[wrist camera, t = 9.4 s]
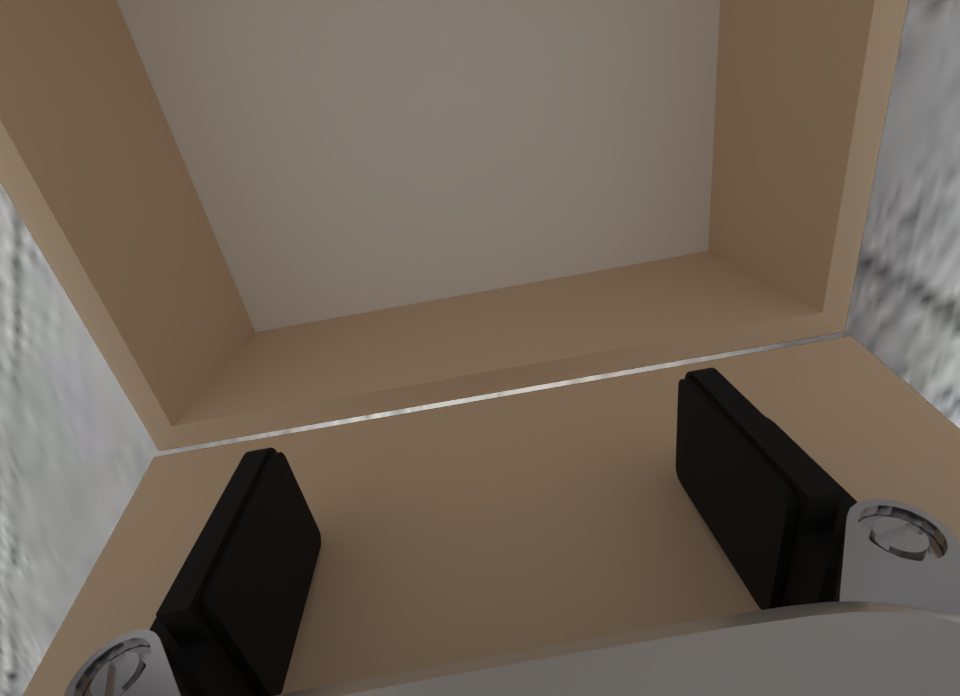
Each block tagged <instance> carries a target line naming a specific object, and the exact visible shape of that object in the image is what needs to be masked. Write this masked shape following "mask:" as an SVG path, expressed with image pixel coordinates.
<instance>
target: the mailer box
mask: <svg viewBox="0 0 960 696" xmlns="http://www.w3.org/2000/svg"><path fill="white" fill-rule="evenodd" d="M908 1H909V0H0V182H1V184H2V186H3V188H4V189H5V191H6V193H7V194H8V196H9V198H10V199H11V201H12V203H13V204H14V206H15V208H16V210H17V211H18V213H19V215H20V216H21V218H22V220H23V221H24V223H25V225H26V226H27V228H28V230H29V232H30V233H31V235H32V237H33V238H34V240H35V242H36V243H37V245H38V247H39V248H40V250H41V252H42V254H43V255H44V257H45V259H46V260H47V262H48V264H49V265H50V267H51V269H52V270H53V272H54V274H55V276H56V277H57V279H58V281H59V282H60V284H61V286H62V287H63V289H64V291H65V292H66V294H67V296H68V298H69V299H70V301H71V303H72V304H73V306H74V308H75V309H76V311H77V313H78V314H79V316H80V318H81V320H82V321H83V323H84V325H85V326H86V328H87V330H88V331H89V333H90V335H91V336H92V338H93V340H94V342H95V343H96V345H97V347H98V348H99V350H100V352H101V353H102V355H103V357H104V358H105V360H106V362H107V363H108V365H109V367H110V369H111V370H112V372H113V374H114V375H115V377H116V379H117V380H118V382H119V384H120V385H121V387H122V389H123V391H124V392H125V394H126V396H127V397H128V399H129V401H130V402H131V404H132V406H133V407H134V409H135V411H136V413H137V414H138V416H139V418H140V419H141V421H142V423H143V424H144V426H145V428H146V429H147V431H148V433H149V435H150V436H151V438H152V440H153V441H154V443H155V445H156V446H157V448H158V450H159V451H163V450H169V449H174V448H180V447H186V446H192V445H197V444H203V443H209V442H215V441H220V440H226V439H232V438H237V437H243V436H249V435H255V434H260V433H266V432H272V431H278V430H283V429H289V428H295V427H301V426H306V425H312V424H318V423H324V422H329V421H335V420H341V419H347V418H352V417H358V416H364V415H370V414H375V413H381V412H387V411H393V410H398V409H404V408H410V407H416V406H421V405H427V404H433V403H439V402H444V401H450V400H456V399H462V398H467V397H473V396H479V395H484V394H490V393H496V392H502V391H507V390H513V389H519V388H525V387H530V386H536V385H542V384H548V383H553V382H559V381H565V380H571V379H576V378H582V377H588V376H594V375H599V374H605V373H611V372H617V371H622V370H628V369H634V368H640V367H645V366H651V365H657V364H663V363H668V362H674V361H680V360H686V359H691V358H697V357H703V356H709V355H714V354H720V353H726V352H731V351H737V350H743V349H749V348H754V347H760V346H766V345H772V344H777V343H783V342H789V341H795V340H800V339H806V338H812V337H818V336H823V335H829V334H835V333H841V332H844V331H845V326H846V321H847V316H848V311H849V306H850V300H851V295H852V290H853V285H854V280H855V275H856V269H857V264H858V259H859V254H860V249H861V244H862V238H863V233H864V228H865V223H866V218H867V212H868V207H869V202H870V197H871V192H872V187H873V181H874V176H875V171H876V166H877V161H878V156H879V150H880V145H881V140H882V135H883V130H884V125H885V119H886V114H887V109H888V104H889V99H890V94H891V88H892V83H893V78H894V73H895V68H896V63H897V57H898V52H899V47H900V42H901V37H902V32H903V26H904V21H905V16H906V11H907V6H908Z"/></svg>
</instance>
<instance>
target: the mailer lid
mask: <svg viewBox="0 0 960 696" xmlns="http://www.w3.org/2000/svg"><path fill="white" fill-rule="evenodd" d="M706 368H715V369H716V370H718V371H719V372H720V373H721V374H722V375H723V376H724V377H725V378H726V379H727V380H728V381H729V382H730V383H731V384H732V385H733V386H734V387H735V388H736V389H737V390H738V391H739V392H740V393H741V394H742V395H743V396H745V397H746V398H747V399H748V400H749V401H750V402H751V403H752V404H753V405H754V406H755V407H756V408H757V409H758V410H759V411H760V412H761V413H762V414H763V415H764V416H765V417H767V418H769V419H771V420H772V421H773V422H775V423H776V424H777V425H778V426H779V427H780V428H781V429H782V430H783V431H784V432H785V433H786V434H787V435H788V436H789V437H790V438H791V439H792V440H793V441H794V442H796V443H797V444H798V445H799V446H800V447H801V448H802V449H803V450H804V451H805V452H806V453H807V454H808V455H809V456H810V457H811V458H812V459H813V460H814V461H815V462H816V463H817V464H819V465H820V466H821V467H822V468H823V469H824V470H825V471H826V472H827V473H828V474H829V475H830V476H831V477H832V478H833V479H834V480H835V481H836V482H837V483H838V484H839V485H840V486H842V487H843V488H844V489H845V490H846V491H847V492H848V493H849V494H850V495H851V496H852V497H853V498H854V499H855V500H856V501H857V502H860V501H864V500H868V499H887V500H893V501H898V502H902V503H905V504H908V505H911V506H914V507H917V508H919V509H921V510H923V511H925V512H927V513H929V514H931V515H932V516H934V517H935V518H937V519H938V520H939V521H941V522H942V523H943V524H945V525H946V526H947V527H948V528H949V529H950V530H951V531H952V533H953V534H954V535H955V536H956V537H957V539H958V542H959V544H960V429H959V428H958V427H957V426H956V425H955V424H953V423H952V422H951V421H950V420H949V419H948V418H946V417H945V416H944V415H943V414H942V413H941V412H939V411H938V410H937V409H936V408H935V407H934V406H933V405H931V404H930V403H929V402H928V401H927V400H926V399H924V398H923V397H922V396H921V395H920V394H919V393H917V392H916V391H915V390H914V389H913V388H912V387H910V386H909V385H908V384H907V383H906V382H905V381H903V380H902V379H901V378H900V377H899V376H898V375H897V374H895V373H894V372H893V371H892V370H891V369H890V368H888V367H887V366H886V365H885V364H884V363H883V362H881V361H880V360H879V359H878V358H877V357H876V356H874V355H873V354H872V353H871V352H870V351H869V350H867V349H866V348H865V347H864V346H863V345H862V344H860V343H859V342H858V341H857V340H856V339H855V338H854V337H852V336H848V337H842V338H837V339H831V340H825V341H819V342H814V343H808V344H802V345H796V346H791V347H785V348H779V349H773V350H768V351H762V352H756V353H750V354H745V355H739V356H733V357H727V358H722V359H716V360H710V361H704V362H699V363H693V364H687V365H681V366H676V367H670V368H664V369H658V370H653V371H647V372H641V373H635V374H630V375H624V376H618V377H612V378H607V379H601V380H595V381H589V382H584V383H578V384H572V385H566V386H560V387H555V388H549V389H543V390H537V391H532V392H526V393H520V394H514V395H509V396H503V397H497V398H491V399H486V400H480V401H474V402H468V403H463V404H457V405H451V406H445V407H440V408H434V409H428V410H422V411H417V412H411V413H405V414H399V415H394V416H388V417H382V418H376V419H371V420H365V421H359V422H353V423H348V424H342V425H336V426H330V427H325V428H319V429H313V430H307V431H302V432H296V433H290V434H284V435H279V436H273V437H267V438H261V439H256V440H250V441H244V442H238V443H233V444H227V445H221V446H215V447H210V448H204V449H198V450H192V451H187V452H181V453H175V454H169V455H164V456H158V457H154V458H153V460H152V462H151V464H150V466H149V467H148V469H147V471H146V473H145V475H144V476H143V478H142V480H141V482H140V484H139V486H138V487H137V489H136V491H135V493H134V495H133V496H132V498H131V500H130V502H129V504H128V505H127V507H126V509H125V511H124V513H123V515H122V516H121V518H120V520H119V522H118V524H117V525H116V527H115V529H114V531H113V533H112V534H111V536H110V538H109V540H108V542H107V544H106V545H105V547H104V549H103V551H102V553H101V554H100V556H99V558H98V560H97V562H96V563H95V565H94V567H93V569H92V571H91V573H90V574H89V576H88V578H87V580H86V582H85V583H84V585H83V587H82V589H81V591H80V593H79V594H78V596H77V598H76V600H75V602H74V603H73V605H72V607H71V609H70V611H69V612H68V614H67V616H66V618H65V620H64V622H63V623H62V625H61V627H60V629H59V631H58V632H57V634H56V636H55V638H54V640H53V641H52V643H51V645H50V647H49V649H48V651H47V652H46V654H45V656H44V658H43V660H42V661H41V663H40V665H39V667H38V669H37V670H36V672H35V674H34V676H33V678H32V680H31V681H30V683H29V685H28V687H27V689H26V690H25V692H24V694H23V696H64V693H65V691H66V689H67V687H68V684H69V682H70V681H71V679H72V678H73V677H74V675H75V674H76V672H77V671H78V670H79V668H80V667H81V666H82V665H83V664H84V663H85V662H86V661H87V660H88V659H89V658H90V657H91V656H92V655H93V654H94V653H95V652H97V651H98V650H99V649H100V648H102V647H103V646H104V645H105V644H107V643H109V642H110V641H112V640H114V639H115V638H117V637H119V636H121V635H123V634H126V633H129V632H131V631H134V630H144V629H147V630H149V629H150V628H151V626H152V624H153V622H154V620H155V618H156V617H157V616H156V613H157V611H158V609H159V607H160V606H161V604H162V602H163V600H164V598H165V597H166V595H167V593H168V591H169V589H170V588H171V586H172V584H173V582H174V580H175V578H176V577H177V575H178V573H179V571H180V569H181V568H182V566H183V564H184V562H185V560H186V559H187V557H188V555H189V553H190V551H191V549H192V548H193V546H194V544H195V542H196V540H197V539H198V537H199V535H200V533H201V531H202V530H203V528H204V526H205V524H206V522H207V520H208V519H209V517H210V515H211V513H212V511H213V510H214V508H215V506H216V504H217V502H218V501H219V499H220V497H221V495H222V493H223V491H224V490H225V488H226V486H227V484H228V482H229V481H230V479H231V477H232V475H233V473H234V472H235V470H236V468H237V466H238V464H239V463H240V461H241V459H242V457H243V455H244V454H245V453H246V452H248V451H254V450H259V449H265V448H270V447H271V448H274V449H275V450H276V451H277V452H282V453H284V455H285V456H286V458H287V461H288V463H289V465H290V467H291V469H292V472H293V474H294V476H295V478H296V480H297V482H298V485H299V487H300V489H301V491H302V493H303V496H304V498H305V500H306V502H307V504H308V507H309V509H310V511H311V513H312V515H313V518H314V520H315V522H316V524H317V526H318V528H319V531H320V535H321V547H320V551H319V555H318V559H317V563H316V566H315V570H314V574H313V578H312V581H311V585H310V589H309V593H308V596H307V600H306V604H305V608H304V612H303V615H302V619H301V623H300V627H299V630H298V634H297V638H296V642H295V645H294V649H293V653H292V657H291V661H290V664H289V668H288V672H287V676H286V679H285V683H284V687H283V690H282V693H281V694H286V693H291V692H296V691H301V690H306V689H311V688H316V687H322V686H327V685H333V684H338V683H344V682H349V681H355V680H360V679H366V678H371V677H376V676H382V675H387V674H393V673H398V672H404V671H409V670H415V669H420V668H426V667H431V666H437V665H442V664H448V663H454V662H459V661H465V660H470V659H476V658H482V657H487V656H493V655H498V654H504V653H510V652H515V651H521V650H527V649H532V648H538V647H544V646H549V645H555V644H561V643H566V642H572V641H578V640H584V639H589V638H595V637H601V636H607V635H613V634H619V633H624V632H630V631H636V630H642V629H648V628H654V627H659V626H665V625H671V624H677V623H683V622H689V621H694V620H700V619H706V618H713V617H719V616H726V615H732V614H739V613H745V612H752V611H758V610H761V609H760V608H759V606H758V605H757V604H756V602H755V600H754V599H753V597H752V596H751V594H750V592H749V591H748V589H747V588H746V586H745V585H744V583H743V581H742V580H741V578H740V577H739V575H738V573H737V572H736V570H735V569H734V567H733V566H732V564H731V562H730V561H729V559H728V558H727V556H726V554H725V553H724V551H723V550H722V548H721V547H720V545H719V543H718V542H717V540H716V539H715V537H714V536H713V534H712V532H711V531H710V529H709V528H708V526H707V524H706V523H705V521H704V520H703V518H702V517H701V515H700V513H699V512H698V510H697V509H696V507H695V505H694V504H693V502H692V501H691V499H690V498H689V496H688V494H687V493H686V491H685V490H684V488H683V487H682V485H681V483H680V481H679V479H678V477H677V473H676V466H675V465H676V436H677V406H678V383H679V380H681V379H685V375H686V373H687V372H689V371H695V370H700V369H706Z"/></svg>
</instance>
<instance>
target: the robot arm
mask: <svg viewBox="0 0 960 696" xmlns="http://www.w3.org/2000/svg"><path fill="white" fill-rule="evenodd" d="M675 466H676V473H677V477H678V479H679V481H680V483H681V485H682V487H683V488H684V490H685V491H686V493H687V494H688V496H689V498H690V499H691V501H692V502H693V504H694V505H695V507H696V509H697V510H698V512H699V513H700V515H701V517H702V518H703V520H704V521H705V523H706V524H707V526H708V528H709V529H710V531H711V532H712V534H713V536H714V537H715V539H716V540H717V542H718V543H719V545H720V547H721V548H722V550H723V551H724V553H725V554H726V556H727V558H728V559H729V561H730V562H731V564H732V566H733V567H734V569H735V570H736V572H737V573H738V575H739V577H740V578H741V580H742V581H743V583H744V585H745V586H746V588H747V589H748V591H749V592H750V594H751V596H752V597H753V599H754V600H755V602H756V604H757V605H758V606H759V608H760V609H761V610H758V611H752V612H745V613H739V614H732V615H726V616H719V617H713V618H706V619H700V620H694V621H689V622H683V623H677V624H671V625H665V626H659V627H654V628H648V629H642V630H636V631H630V632H624V633H619V634H613V635H607V636H601V637H595V638H589V639H584V640H578V641H572V642H566V643H561V644H555V645H549V646H544V647H538V648H532V649H527V650H521V651H515V652H510V653H504V654H498V655H493V656H487V657H482V658H476V659H470V660H465V661H459V662H454V663H448V664H442V665H437V666H431V667H426V668H420V669H415V670H409V671H404V672H398V673H393V674H387V675H382V676H376V677H371V678H366V679H360V680H355V681H349V682H344V683H338V684H333V685H327V686H322V687H316V688H311V689H306V690H301V691H296V692H291V693H286V694H281V693H282V690H283V687H284V683H285V679H286V676H287V672H288V668H289V664H290V661H291V657H292V653H293V649H294V645H295V642H296V638H297V634H298V630H299V627H300V623H301V619H302V615H303V612H304V608H305V604H306V600H307V596H308V593H309V589H310V585H311V581H312V578H313V574H314V570H315V566H316V563H317V559H318V555H319V551H320V547H321V535H320V531H319V528H318V526H317V524H316V522H315V520H314V518H313V515H312V513H311V511H310V509H309V507H308V504H307V502H306V500H305V498H304V496H303V493H302V491H301V489H300V487H299V485H298V482H297V480H296V478H295V476H294V474H293V472H292V469H291V467H290V465H289V463H288V461H287V458H286V456H285V455H284V453H282V452H277V451H276V450H275V449H274V448H271V447H270V448H265V449H259V450H254V451H248V452H246V453H245V454H244V455H243V457H242V459H241V461H240V463H239V464H238V466H237V468H236V470H235V472H234V473H233V475H232V477H231V479H230V481H229V482H228V484H227V486H226V488H225V490H224V491H223V493H222V495H221V497H220V499H219V501H218V502H217V504H216V506H215V508H214V510H213V511H212V513H211V515H210V517H209V519H208V520H207V522H206V524H205V526H204V528H203V530H202V531H201V533H200V535H199V537H198V539H197V540H196V542H195V544H194V546H193V548H192V549H191V551H190V553H189V555H188V557H187V559H186V560H185V562H184V564H183V566H182V568H181V569H180V571H179V573H178V575H177V577H176V578H175V580H174V582H173V584H172V586H171V588H170V589H169V591H168V593H167V595H166V597H165V598H164V600H163V602H162V604H161V606H160V607H159V609H158V611H157V613H156V616H157V617H156V618H155V620H154V622H153V624H152V626H151V628H150V629H149V630H147V629H144V630H134V631H131V632H129V633H126V634H123V635H121V636H119V637H117V638H115V639H114V640H112V641H110V642H109V643H107V644H105V645H104V646H103V647H102V648H100V649H99V650H98V651H97V652H95V653H94V654H93V655H92V656H91V657H90V658H89V659H88V660H87V661H86V662H85V663H84V664H83V665H82V666H81V667H80V668H79V670H78V671H77V672H76V674H75V675H74V677H73V678H72V679H71V681H70V682H69V684H68V687H67V689H66V691H65V693H64V696H960V544H959V542H958V539H957V537H956V536H955V535H954V534H953V533H952V531H951V530H950V529H949V528H948V527H947V526H946V525H945V524H943V523H942V522H941V521H939V520H938V519H937V518H935V517H934V516H932V515H931V514H929V513H927V512H925V511H923V510H921V509H919V508H917V507H914V506H911V505H908V504H905V503H902V502H898V501H893V500H887V499H868V500H864V501H860V502H857V501H856V500H855V499H854V498H853V497H852V496H851V495H850V494H849V493H848V492H847V491H846V490H845V489H844V488H843V487H842V486H840V485H839V484H838V483H837V482H836V481H835V480H834V479H833V478H832V477H831V476H830V475H829V474H828V473H827V472H826V471H825V470H824V469H823V468H822V467H821V466H820V465H819V464H817V463H816V462H815V461H814V460H813V459H812V458H811V457H810V456H809V455H808V454H807V453H806V452H805V451H804V450H803V449H802V448H801V447H800V446H799V445H798V444H797V443H796V442H794V441H793V440H792V439H791V438H790V437H789V436H788V435H787V434H786V433H785V432H784V431H783V430H782V429H781V428H780V427H779V426H778V425H777V424H776V423H775V422H773V421H772V420H771V419H769V418H767V417H765V416H764V415H763V414H762V413H761V412H760V411H759V410H758V409H757V408H756V407H755V406H754V405H753V404H752V403H751V402H750V401H749V400H748V399H747V398H746V397H745V396H743V395H742V394H741V393H740V392H739V391H738V390H737V389H736V388H735V387H734V386H733V385H732V384H731V383H730V382H729V381H728V380H727V379H726V378H725V377H724V376H723V375H722V374H721V373H720V372H719V371H718V370H716V369H715V368H706V369H700V370H695V371H689V372H687V373H686V375H685V379H681V380H679V383H678V406H677V436H676V465H675Z"/></svg>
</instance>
